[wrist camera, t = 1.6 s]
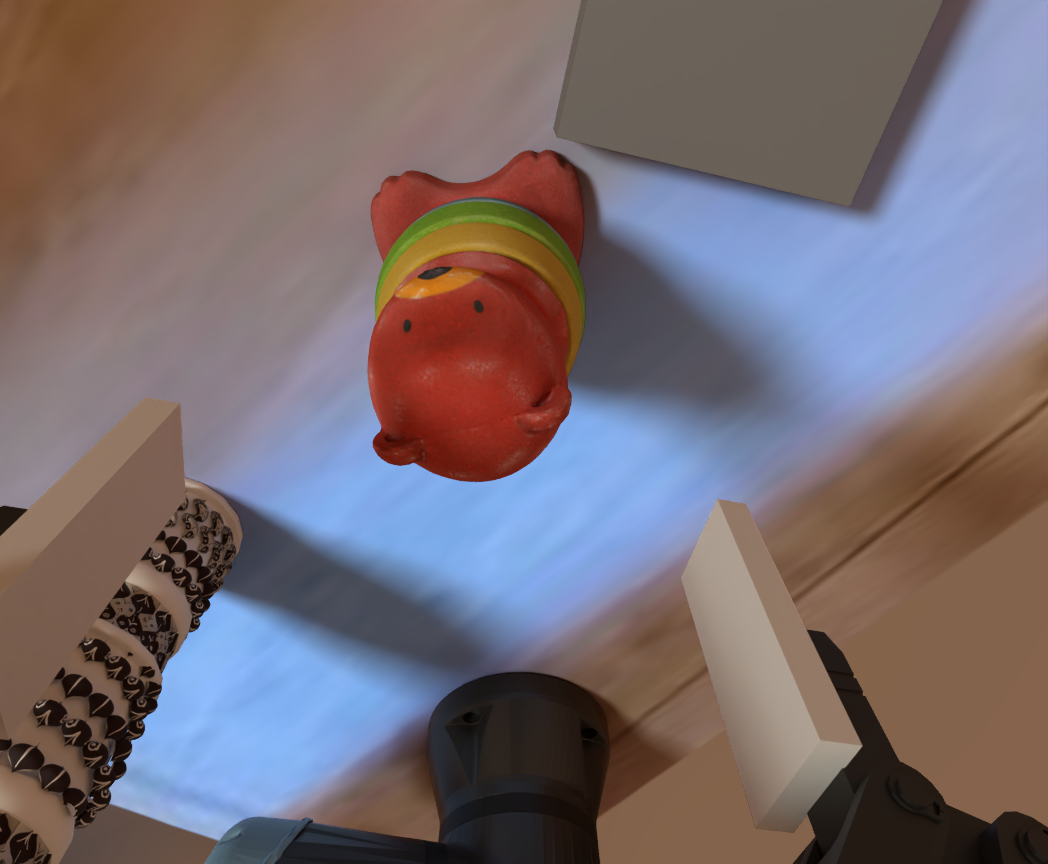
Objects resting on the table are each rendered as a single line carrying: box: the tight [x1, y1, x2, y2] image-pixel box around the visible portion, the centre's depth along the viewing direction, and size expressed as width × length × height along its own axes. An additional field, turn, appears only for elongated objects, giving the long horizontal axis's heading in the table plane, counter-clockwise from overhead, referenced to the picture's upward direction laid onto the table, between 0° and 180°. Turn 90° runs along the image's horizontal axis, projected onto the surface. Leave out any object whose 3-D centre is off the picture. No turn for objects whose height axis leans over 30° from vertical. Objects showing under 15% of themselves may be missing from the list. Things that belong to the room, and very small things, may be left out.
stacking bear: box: [368, 150, 586, 482], centre depth 27 cm, size 11×10×18 cm
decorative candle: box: [0, 478, 243, 864], centre depth 33 cm, size 9×9×25 cm
